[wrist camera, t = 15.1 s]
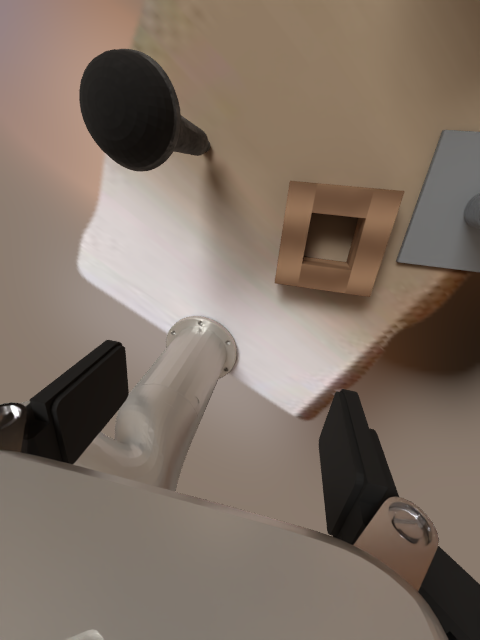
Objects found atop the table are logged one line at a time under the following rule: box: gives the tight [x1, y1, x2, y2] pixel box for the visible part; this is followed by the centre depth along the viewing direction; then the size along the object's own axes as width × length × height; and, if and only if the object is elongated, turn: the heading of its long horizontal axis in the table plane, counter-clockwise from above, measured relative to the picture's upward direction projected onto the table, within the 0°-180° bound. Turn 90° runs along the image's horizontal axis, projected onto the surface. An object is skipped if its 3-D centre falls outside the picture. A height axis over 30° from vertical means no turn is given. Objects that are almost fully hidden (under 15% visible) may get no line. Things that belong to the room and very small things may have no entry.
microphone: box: [80, 49, 210, 171], centre depth 25 cm, size 7×7×20 cm
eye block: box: [275, 181, 404, 297], centre depth 34 cm, size 12×12×4 cm
